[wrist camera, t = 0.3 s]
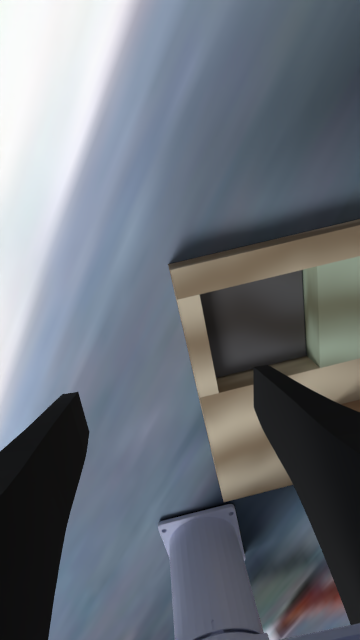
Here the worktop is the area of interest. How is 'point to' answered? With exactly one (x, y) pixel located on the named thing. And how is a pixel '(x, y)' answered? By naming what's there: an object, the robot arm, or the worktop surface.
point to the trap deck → (269, 338)
